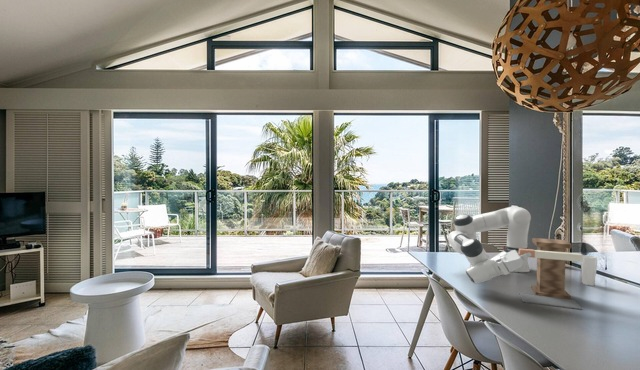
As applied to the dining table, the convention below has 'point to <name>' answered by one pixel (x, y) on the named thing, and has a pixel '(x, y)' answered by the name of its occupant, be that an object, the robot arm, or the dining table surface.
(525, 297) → the mat
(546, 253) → the white stick tan end
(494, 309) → the dining table surface
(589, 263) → the drinking glass
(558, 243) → the walnut stand
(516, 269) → the robot arm
